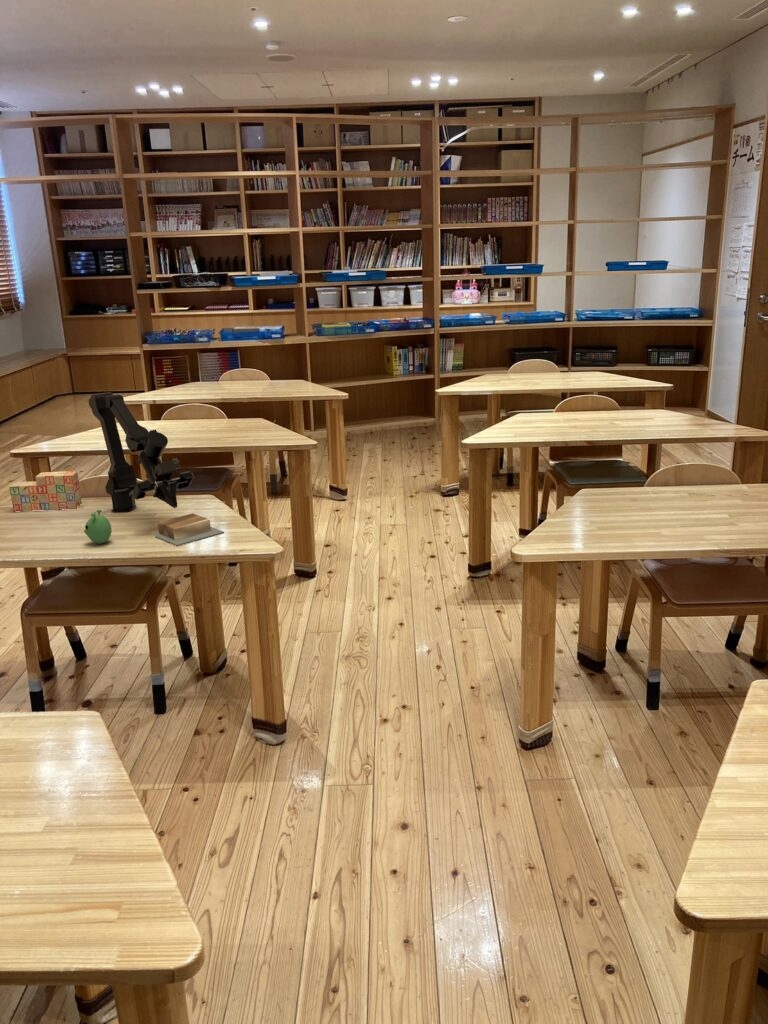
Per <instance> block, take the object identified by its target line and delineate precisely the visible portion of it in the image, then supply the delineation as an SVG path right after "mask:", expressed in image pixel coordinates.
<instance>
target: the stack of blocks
mask: <svg viewBox="0 0 768 1024" xmlns="http://www.w3.org/2000/svg"><path fill="white" fill-rule="evenodd" d="M78 472H79V471H77V470H76V471H75V470H74V471H73V470H71V471H68V470H63V471H62V470H61V471H60V470H59V471H48V472H45V471H43V472H40V473H38V474H37V475H36V476H35V481H16V482H14V483H13V484H11V485H10V486H9V487H8V488H9V495H10V498H11V504H12V511H13V512H14V511H32V510H55V511H63V510H62V509H76V510H78V509H77V507H78V506H79V505H80V504H82V503H83V501H82V496H81V489H80V488H81V487H80V479H79V474H78ZM82 505H83V504H82Z"/></svg>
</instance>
